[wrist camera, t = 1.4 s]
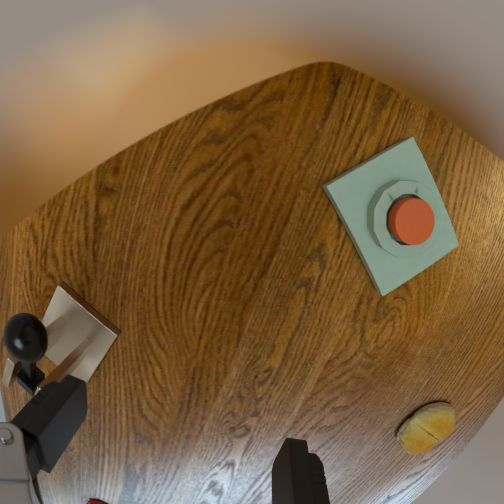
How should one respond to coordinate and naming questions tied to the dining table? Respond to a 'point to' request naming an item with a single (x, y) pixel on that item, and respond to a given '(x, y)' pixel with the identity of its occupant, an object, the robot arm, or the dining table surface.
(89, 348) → the bracket
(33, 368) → the lever
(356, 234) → the control block
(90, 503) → the soda can
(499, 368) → the dining table surface
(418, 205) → the power button
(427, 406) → the bread roll
